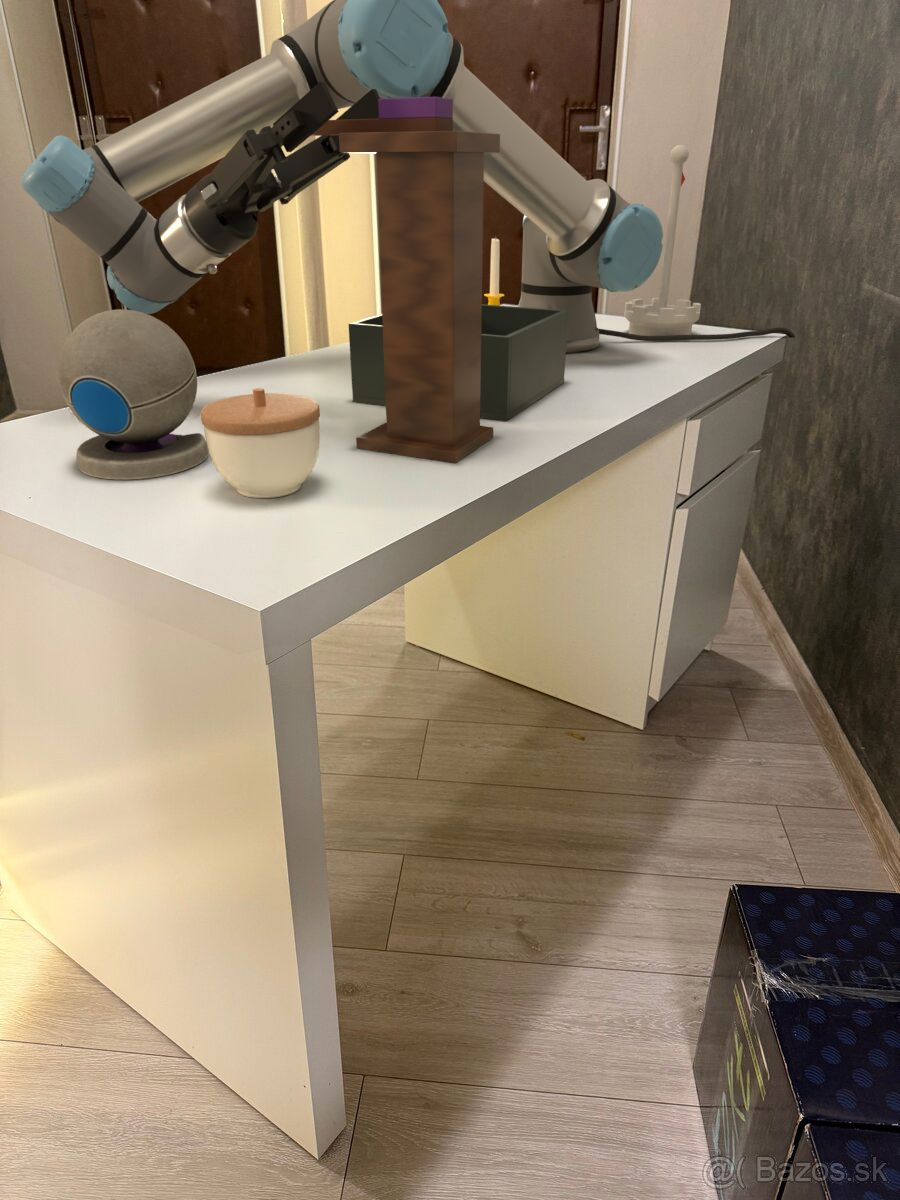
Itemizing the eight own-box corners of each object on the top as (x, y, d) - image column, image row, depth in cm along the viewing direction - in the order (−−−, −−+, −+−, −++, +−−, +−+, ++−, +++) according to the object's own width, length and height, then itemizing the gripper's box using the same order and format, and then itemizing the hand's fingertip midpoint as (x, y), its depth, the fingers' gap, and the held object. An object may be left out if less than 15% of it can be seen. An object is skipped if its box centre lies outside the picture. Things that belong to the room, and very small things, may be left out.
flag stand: (685, 343, 141) (711, 143, 127) (612, 337, 147) (629, 144, 133) (704, 331, 152) (730, 145, 137) (635, 325, 157) (653, 145, 143)
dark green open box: (427, 368, 125) (426, 300, 120) (564, 383, 117) (568, 310, 112) (352, 401, 108) (348, 323, 103) (506, 421, 100) (509, 337, 95)
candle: (512, 324, 159) (515, 236, 152) (493, 327, 156) (495, 237, 148) (493, 320, 162) (495, 234, 155) (474, 324, 159) (475, 235, 152)
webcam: (227, 445, 91) (209, 302, 84) (170, 484, 80) (142, 323, 73) (121, 438, 94) (94, 298, 87) (51, 475, 83) (13, 319, 76)
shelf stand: (356, 448, 90) (338, 132, 76) (400, 424, 98) (391, 135, 84) (455, 463, 86) (456, 130, 72) (493, 437, 94) (500, 133, 80)
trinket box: (322, 505, 75) (314, 403, 71) (202, 509, 74) (186, 406, 70) (328, 467, 85) (321, 374, 80) (221, 470, 84) (208, 377, 79)
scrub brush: (282, 135, 82) (279, 102, 81) (303, 136, 85) (301, 104, 84) (436, 132, 76) (435, 96, 74) (453, 133, 78) (453, 99, 77)
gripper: (284, 247, 101) (425, 140, 89) (160, 265, 84) (312, 135, 72) (253, 188, 100) (392, 70, 87) (120, 193, 83) (268, 48, 70)
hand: (356, 99), depth 79 cm, fingers open, 9 cm apart
